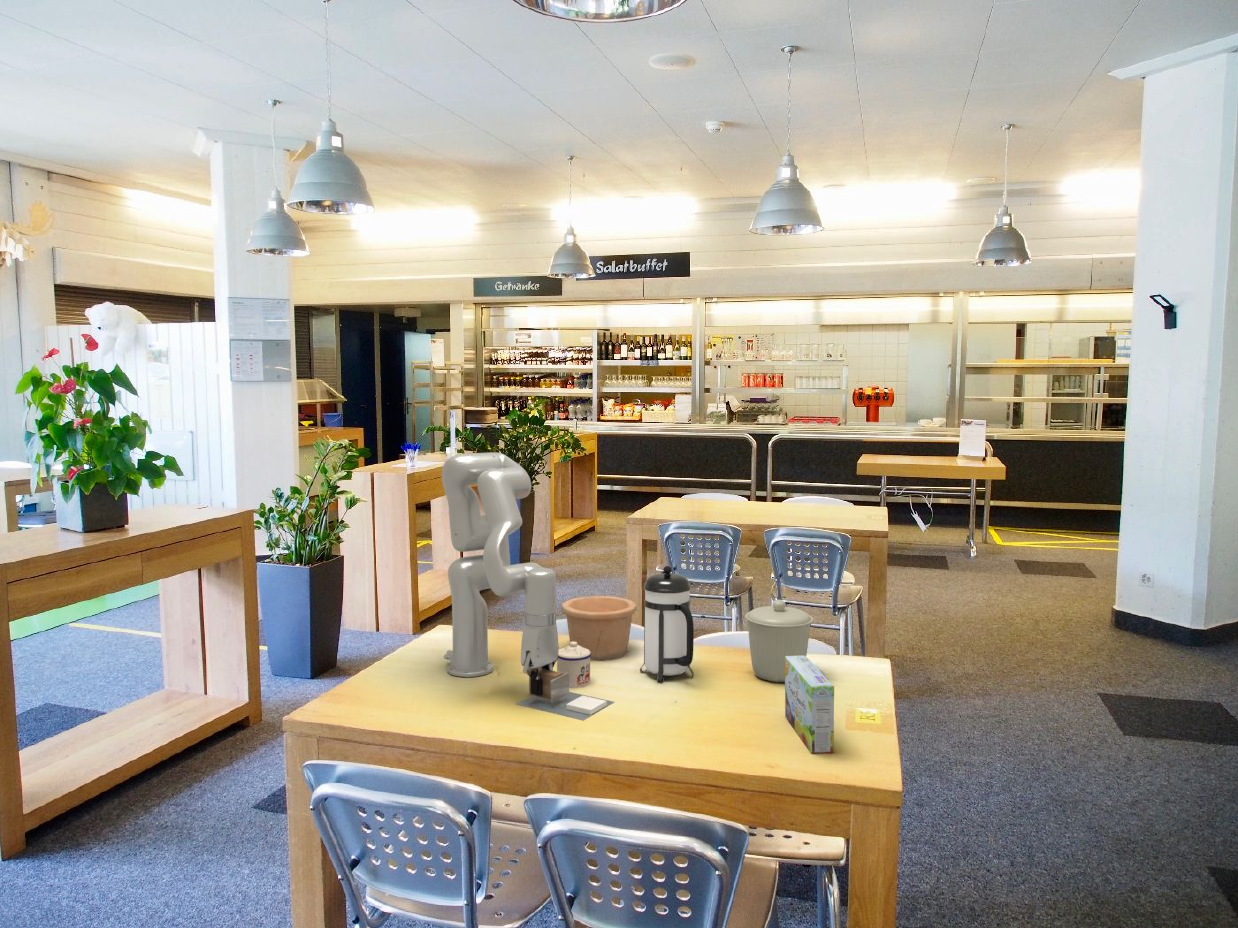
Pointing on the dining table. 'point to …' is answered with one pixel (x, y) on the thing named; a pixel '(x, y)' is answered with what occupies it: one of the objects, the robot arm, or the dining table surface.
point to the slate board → (558, 705)
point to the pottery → (600, 624)
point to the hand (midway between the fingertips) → (541, 691)
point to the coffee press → (667, 625)
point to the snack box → (809, 704)
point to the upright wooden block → (553, 684)
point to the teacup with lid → (575, 664)
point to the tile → (586, 705)
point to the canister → (776, 638)
